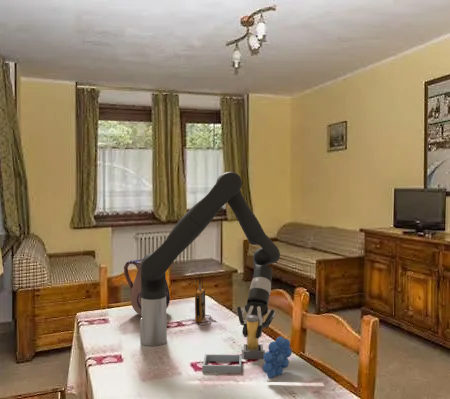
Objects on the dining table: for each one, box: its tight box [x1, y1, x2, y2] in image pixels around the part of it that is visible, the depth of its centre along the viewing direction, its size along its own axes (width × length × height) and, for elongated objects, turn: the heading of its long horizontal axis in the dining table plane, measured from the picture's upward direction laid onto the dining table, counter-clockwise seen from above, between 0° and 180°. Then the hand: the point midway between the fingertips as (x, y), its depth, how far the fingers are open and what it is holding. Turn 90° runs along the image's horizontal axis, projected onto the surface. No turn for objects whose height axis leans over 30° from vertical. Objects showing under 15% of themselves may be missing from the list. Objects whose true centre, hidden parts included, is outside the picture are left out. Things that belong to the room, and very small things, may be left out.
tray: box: [201, 353, 242, 374], centre depth 136 cm, size 12×9×3 cm
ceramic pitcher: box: [123, 258, 171, 317], centre depth 194 cm, size 18×21×25 cm
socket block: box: [241, 343, 266, 360], centre depth 145 cm, size 8×8×3 cm
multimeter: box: [194, 273, 218, 327], centre depth 185 cm, size 15×10×20 cm
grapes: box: [262, 336, 293, 379], centre depth 131 cm, size 12×7×12 cm, turn 128°
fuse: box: [246, 315, 259, 351], centre depth 145 cm, size 4×4×12 cm
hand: (251, 336), depth 143 cm, fingers closed on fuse, 3 cm apart
